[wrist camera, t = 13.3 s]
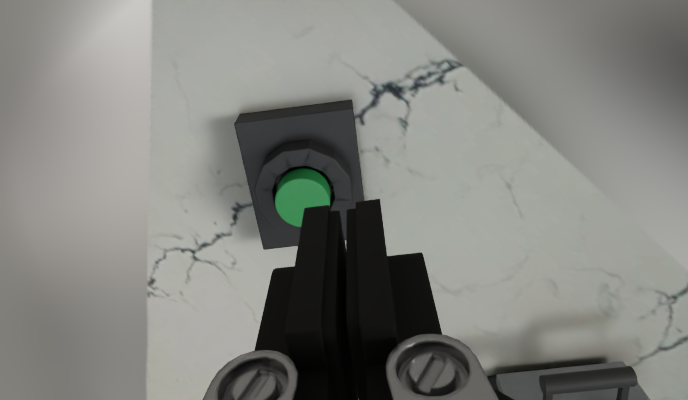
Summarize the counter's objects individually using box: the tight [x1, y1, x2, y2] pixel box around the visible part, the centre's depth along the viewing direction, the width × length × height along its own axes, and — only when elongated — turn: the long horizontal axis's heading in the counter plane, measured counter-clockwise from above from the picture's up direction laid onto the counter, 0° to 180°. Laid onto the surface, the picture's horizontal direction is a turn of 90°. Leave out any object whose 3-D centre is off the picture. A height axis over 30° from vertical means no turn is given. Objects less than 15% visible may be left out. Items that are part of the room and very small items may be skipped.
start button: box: [275, 168, 330, 227], centre depth 33 cm, size 4×4×2 cm
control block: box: [234, 100, 364, 250], centre depth 35 cm, size 10×8×4 cm
